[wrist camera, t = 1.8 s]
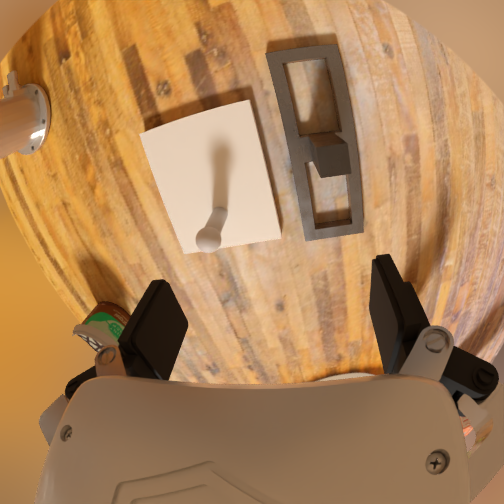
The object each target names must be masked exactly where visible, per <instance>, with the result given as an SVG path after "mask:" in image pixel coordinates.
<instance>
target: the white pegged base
mask: <svg viewBox="0 0 504 504" xmlns="http://www.w3.org/2000/svg"><path fill="white" fill-rule="evenodd" d="M139 135H140V138H141V141H142V144H143V147H144V150H145V153H146V156H147V158H148V161H149V164H150V167H151V170H152V173H153V175H154V178H155V181H156V184H157V186H158V189H159V192H160V194H161V197H162V200H163V202H164V205H165V207H166V210H167V213H168V215H169V218H170V220H171V223H172V225H173V228H174V230H175V233H176V235H177V237H178V240H179V242H180V245H181V247H182V249H183V252H184V254H189V253H195V252H201V251H203V252H205V253H212V252H214V251H216V250H217V249H219V248H225V247H231V246H237V245H244V244H250V243H256V242H262V241H269V240H275V239H281V238H282V232H281V227H280V223H279V218H278V213H277V209H276V204H275V200H274V195H273V191H272V186H271V182H270V178H269V173H268V169H267V165H266V160H265V156H264V152H263V148H262V144H261V140H260V136H259V132H258V128H257V124H256V120H255V116H254V112H253V108H252V104H251V100H245V101H241V102H237V103H233V104H229V105H225V106H221V107H218V108H214V109H210V110H207V111H204V112H200V113H197V114H194V115H191V116H187V117H184V118H181V119H178V120H176V121H173V122H170V123H167V124H164V125H161V126H159V127H156V128H153V129H151V130H148V131H146V132H143V133H141V134H139Z"/></svg>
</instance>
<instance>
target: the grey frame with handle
mask: <svg viewBox="0 0 504 504" xmlns="http://www.w3.org/2000/svg"><path fill="white" fill-rule="evenodd" d="M265 55H266V58H267V62H268V66H269V69H270V73H271V77H272V81H273V85H274V89H275V93H276V97H277V101H278V105H279V109H280V113H281V118H282V122H283V126H284V131H285V135H286V140H287V145H288V149H289V154H290V159H291V164H292V169H293V174H294V179H295V184H296V190H297V195H298V201H299V206H300V212H301V218H302V224H303V230H304V236H305V241H311V240H318V239H324V238H331V237H337V236H344V235H350V234H357V233H363V232H364V229H363V207H362V192H361V180H360V169H359V160H358V151H357V143H356V136H355V129H354V123H353V116H352V110H351V105H350V99H349V94H348V89H347V84H346V79H345V75H344V70H343V66H342V62H341V58H340V54H339V50H338V46H337V44H334V45H321V46H311V47H302V48H295V49H288V50H282V51H276V52H270V53H265ZM318 59H325V62H326V66H327V70H328V74H329V78H330V83H331V87H332V92H333V97H334V102H335V107H336V113H337V118H338V124H339V130H337V131H329V132H322V133H314V134H308V135H301V136H299V133H298V128H297V123H296V118H295V114H294V109H293V105H292V101H291V96H290V92H289V88H288V84H287V80H286V76H285V72H284V68H283V64H287V63H294V62H301V61H309V60H318ZM311 161H313V163H314V165H315V167H316V169H317V171H318V173H319V175H320V177H321V178H325V177H331V176H339V175H346V181H347V191H348V201H349V213H350V219H346V220H340V221H333V222H326V223H320V224H314V218H313V211H312V205H311V198H310V192H309V186H308V180H307V174H306V169H305V162H311Z"/></svg>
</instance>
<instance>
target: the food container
mask: <svg viewBox="0 0 504 504" xmlns="http://www.w3.org/2000/svg"><path fill="white" fill-rule="evenodd" d="M129 319H130V315H129V314H128V313H127V312H126V311H125V310H124V309H123V308H121V307H120V306H118V305H116V304H114V303H111V302H100V303H99V304H98V305H97V306H96V307H95V308H94V309H93V310H92V312H91V313H90V314H89V315H88V316H87V318H86V319H85V320H84V321H83V322H82V324H79V325H76V326H75V327H74V330H73V335H75V334H77V335H78V336H80V337H81V338H82V339H83V340H85V341H86V342H87V343H88V344H89V345H90V346H91V347H92V348H93V349H94V350H95V351H97V352H99V351H100V350H101V349H102V348H103V347H105V346H107V345H116V346H117V347H118V346H119V343H118V342H117V340H118V338H119V336H120V335H121V333H122V331H123V329H124V328H125V326H126V324H127V322H128V320H129Z"/></svg>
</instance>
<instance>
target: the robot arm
mask: <svg viewBox="0 0 504 504" xmlns="http://www.w3.org/2000/svg"><path fill="white" fill-rule="evenodd" d="M7 79H8V84H9V85H6V86H4V87H3V94H4V99H0V159H2V158H4V157H6V156H8V155H10V154H12V153H14V152H16V151H18V152H19V153H21V154H24V155H29V154H32V153H34V152H36V151H37V150H39V149H40V148H41V147H42V145H43V143H44V142H45V140H46V137H47V135H48V131H49V126H50V116H51V114H50V104H49V100H48V97H47V94H46V93H45V91H44V89H43V88H42V87H41V86H39V85H38V84H35V83H31V84H26V85H24V86H22V87H21V85H20V84H18V75H17V71H16V70H15V71H12V72H10V73H9V74H8V75H7ZM369 310H370V315H371V319H372V323H373V326H374V330H375V334H376V338H377V343H378V347H379V351H380V355H381V360H382V364H383V369H384V373H385V375H375V376H366V377H358V378H349V379H340V380H329V381H318V382H305V383H288V384H209V383H192V382H178V381H168V380H169V378H170V375H171V372H172V370H173V367H174V364H175V361H176V358H177V356H178V353H179V350H180V348H181V345H182V342H183V339H184V337H185V334H186V331H187V329H188V321H187V319H186V317H185V315H184V313H183V311H182V309H181V307H180V305H179V303H178V301H177V299H176V297H175V295H174V293H173V291H172V289H171V286H170V284H169V283H168V282H166V281H165V280H164V279H161V280H153V281H152V282H151V283H150V285H149V287H148V288H147V290H146V292H145V293H144V295H143V297H142V298H141V300H140V302H139V303H138V305H137V307H136V308H135V310H134V312H133V313H132V315H131V317H130V319H129V320H128V322H127V324H126V326H125V328H124V329H123V331H122V333H121V335H120V336H119V338H118V340H117V342H118V343H119V346H118V347H117V346H116V345H107V346H105V347H103V348H102V349H101V350H100V351H99V352H98V353H97V355H96V357H95V366H93V367H91V368H90V369H88V370H86V371H85V372H83V373H81V374H80V375H78V376H76V377H75V378H73V379H72V380H70V381H69V382H68V384H67V386H66V389H65V395H63V394H62V395H61V396H60V397H59V398H58V399H57V400H55V401H54V403H52V404H51V406H49V407H48V409H46V410H45V411H44V412H43V414H42V415H41V416H40V419H39V424H40V428H41V430H42V432H43V434H44V436H45V438H46V440H47V442H48V444H49V446H50V448H49V450H48V454H47V457H46V460H45V463H44V466H43V469H42V473H41V477H40V480H39V484H38V488H37V493H36V497H35V502H34V504H470V502H471V501H472V500H473V499H474V498H475V497H476V496H477V495H478V494H479V493H480V492H481V491H482V489H484V488H485V486H486V485H487V484H488V483H489V482H490V481H491V480H492V478H493V477H494V476H495V475H496V473H497V472H498V471H499V470H500V469H501V467H502V466H503V465H504V383H503V385H502V384H501V383H500V382H499V381H498V380H499V376H498V372H497V370H496V368H495V367H494V366H493V365H491V364H490V363H488V362H486V361H484V360H482V359H480V358H478V357H476V356H474V355H472V354H470V353H468V352H466V351H464V350H462V349H460V348H458V347H455V346H453V345H454V339H453V336H452V334H451V333H450V332H449V331H448V330H447V329H446V328H444V327H441V326H430V323H429V321H428V319H427V316H426V314H425V312H424V310H423V307H422V305H421V303H420V301H419V299H418V297H417V295H416V292H415V290H414V288H413V286H412V284H411V283H410V282H409V281H408V282H403V280H402V278H401V276H400V274H399V272H398V270H397V268H396V266H395V264H394V262H393V260H392V258H391V256H390V254H384V255H377V256H376V259H373V260H372V273H371V289H370V302H369ZM388 373H389V374H388ZM459 416H461V417H467V418H468V420H469V421H470V423H469V424H470V425H471V426H472V427H473V429H474V430H475V432H476V440H475V444H474V445H473V447H472V448H471V449H470V450H469V451H468V452H467V450H466V444H465V438H464V433H463V428H462V424H461V420H460V417H459ZM428 455H429V456H428ZM437 459H438V460H437ZM439 462H440V463H439ZM437 474H438V475H437Z"/></svg>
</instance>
